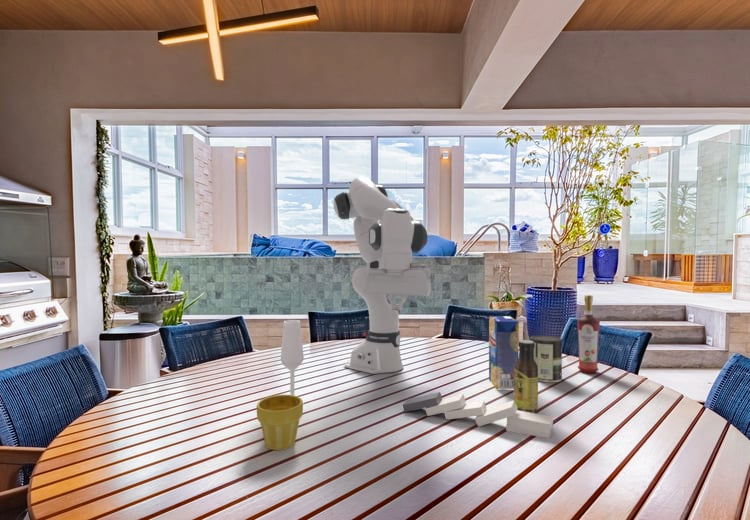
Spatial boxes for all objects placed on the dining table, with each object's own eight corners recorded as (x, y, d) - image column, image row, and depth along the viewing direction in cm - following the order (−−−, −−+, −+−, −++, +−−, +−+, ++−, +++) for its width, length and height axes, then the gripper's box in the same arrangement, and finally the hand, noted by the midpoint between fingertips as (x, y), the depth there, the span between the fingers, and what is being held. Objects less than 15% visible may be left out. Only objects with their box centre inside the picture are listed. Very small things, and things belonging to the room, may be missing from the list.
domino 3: (444, 412, 110) (481, 407, 106) (448, 405, 115) (484, 400, 111) (446, 419, 110) (483, 414, 106) (450, 412, 115) (486, 408, 111)
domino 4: (474, 419, 106) (511, 407, 102) (478, 412, 111) (514, 400, 107) (478, 426, 106) (515, 414, 102) (482, 419, 110) (517, 407, 106)
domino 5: (507, 415, 104) (550, 424, 99) (511, 409, 108) (552, 416, 103) (507, 423, 104) (550, 432, 99) (511, 416, 108) (552, 424, 103)
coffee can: (554, 373, 151) (555, 335, 150) (567, 382, 140) (567, 341, 140) (526, 373, 151) (526, 334, 150) (536, 382, 140) (536, 341, 140)
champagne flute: (308, 402, 123) (308, 321, 122) (289, 408, 118) (289, 324, 117) (295, 397, 127) (294, 318, 127) (276, 402, 122) (275, 321, 122)
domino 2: (424, 408, 113) (459, 400, 109) (429, 402, 117) (463, 394, 113) (427, 416, 112) (462, 407, 109) (432, 409, 117) (465, 401, 113)
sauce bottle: (510, 408, 118) (510, 338, 117) (532, 408, 118) (533, 338, 117) (518, 417, 111) (518, 343, 111) (541, 417, 111) (542, 343, 111)
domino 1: (402, 405, 115) (435, 397, 112) (407, 399, 120) (439, 391, 116) (404, 412, 115) (438, 405, 112) (409, 405, 120) (442, 398, 116)
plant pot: (280, 459, 89) (280, 414, 89) (247, 447, 95) (246, 404, 95) (312, 440, 98) (311, 399, 98) (280, 430, 104) (279, 391, 103)
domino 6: (506, 425, 103) (549, 432, 99) (509, 417, 108) (551, 424, 103) (506, 433, 103) (549, 441, 99) (509, 425, 108) (551, 432, 103)
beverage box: (509, 379, 144) (509, 316, 143) (518, 390, 133) (518, 321, 132) (488, 379, 144) (489, 316, 144) (496, 390, 133) (496, 321, 133)
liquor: (600, 370, 154) (600, 295, 153) (598, 375, 148) (599, 297, 147) (578, 367, 158) (578, 294, 157) (575, 372, 152) (576, 296, 151)
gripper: (434, 263, 121) (434, 311, 121) (371, 262, 130) (371, 306, 130) (426, 264, 115) (426, 314, 115) (362, 263, 124) (362, 309, 125)
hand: (397, 310), depth 123 cm, fingers closed
